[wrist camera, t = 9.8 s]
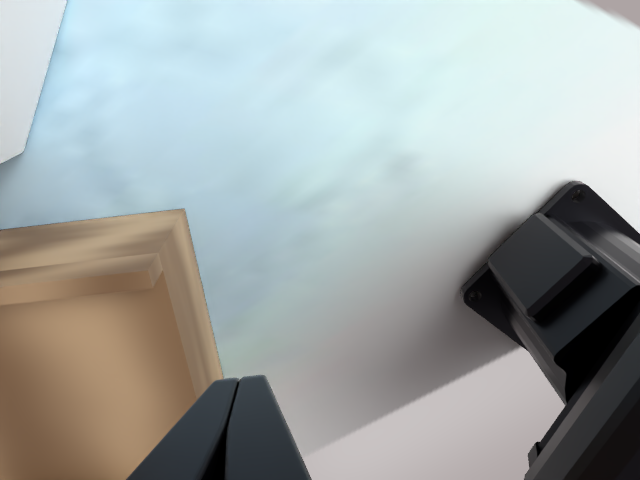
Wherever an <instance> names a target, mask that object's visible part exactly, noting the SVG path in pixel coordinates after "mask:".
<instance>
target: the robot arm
mask: <svg viewBox="0 0 640 480" xmlns="http://www.w3.org/2000/svg"><path fill="white" fill-rule="evenodd" d="M577 190H580V195H579V196H578V197H577V198H576V199H572V195H573V194H574V192H576V191H577ZM473 291H478V293H477V295H476V296H474V297H469V295H470V293H472V292H473ZM460 294H461V297H462V299H463V301H464V302H465V303H466V305H468V306H469V307H470V308H472V309H473V310H474V311H476V312H477V313H478V314H480V315H481V316H482V317H483V318H485V319H486V320H487V321H489V322H490V323H491V324H493V325H494V326H495V327H497V328H498V329H499V330H501V331H502V332H503V333H505V334H506V335H507V336H509V337H510V338H511V339H513V340H514V341H515V342H517V343H518V344H519V345H521V346H522V347H523V348H525V349H526V350H527V351H529V353H530V354H531V356H532V357H533V358H534V360H535V362H536V363H537V364H538V366H539V367H540V369H541V370H542V372H543V373H544V374H545V376H546V378H547V379H548V381H549V382H550V383H551V385H552V387H553V388H554V389H555V391H556V392H557V394H558V395H559V397H560V398H561V400H562V401H563V403H564V404H565V408H564V409H563V410H562V412H561V413H560V415H559V416H558V417H557V419H556V420H555V422H554V423H553V424H552V426H551V428H550V429H549V430H548V432H547V433H546V435H545V436H544V438H543V439H542V440H541V442H536V443H535V444H534V446H533V447H532V449H531V450H530V452H529V453H528V460H529V470H528V472H527V473H526V474H525V478H524V480H640V234H639V233H638V232H637V231H636V230H635V229H634V228H633V227H632V226H631V225H630V224H629V223H627V222H626V221H625V220H624V219H623V218H622V217H621V216H620V215H619V214H618V213H617V212H616V211H615V210H614V209H612V208H611V207H610V206H609V205H608V204H607V203H606V202H605V201H604V200H603V199H602V198H601V197H600V196H599V195H597V194H596V193H595V192H594V191H593V190H592V189H591V188H590V187H589V186H587V185H586V184H584V183H582V182H580V181H572V182H569V183H568V184H567V185H565V186H564V187H563V188H562V189H561V190H560V191H559V192H558V193H557V194H556V195H555V196H554V197H553V198H552V199H551V200H550V201H549V202H548V203H547V204H546V205H545V206H544V207H543V208H542V209H541V210H540V211H539V212H538V213H537V214H533V215H532V216H531V217H530V218H528V219H527V220H526V221H525V222H524V223H523V224H522V225H521V226H520V227H519V228H518V229H517V230H516V231H515V232H514V233H513V234H512V235H511V236H510V237H509V238H508V239H507V240H506V241H505V242H504V243H503V244H502V245H501V246H500V247H499V248H498V249H497V250H496V251H495V252H494V253H493V254H492V255H491V256H490V257H489V259H488V262H487V263H486V264H485V265H484V266H483V267H482V268H481V269H480V270H479V271H478V272H477V273H476V274H475V275H474V276H473V277H472V278H471V279H470V280H469V281H468V282H467V283H466V284H465V285H464V286H463V287H462V288H461V292H460ZM126 480H312V479H311V477H310V475H309V473H308V470H307V468H306V466H305V464H304V461H303V459H302V457H301V455H300V452H299V450H298V448H297V446H296V443H295V441H294V439H293V437H292V434H291V432H290V430H289V428H288V425H287V423H286V421H285V419H284V416H283V414H282V412H281V410H280V407H279V405H278V403H277V401H276V398H275V396H274V394H273V392H272V389H271V387H270V385H269V383H268V380H267V378H266V377H265V376H264V375H256V376H247V377H243V378H241V379H240V380H239V379H238V378H229V379H220V380H216V381H214V382H213V383H212V384H211V385H210V386H209V387H208V388H207V389H206V390H205V391H204V393H203V394H202V395H201V396H200V397H199V398H198V399H197V400H196V401H195V403H194V404H193V405H192V406H191V407H190V408H189V409H188V410H187V412H186V413H185V414H184V415H183V416H182V417H181V418H180V419H179V421H178V422H177V423H176V424H175V425H174V426H173V427H172V428H171V429H170V431H169V432H168V433H167V434H166V435H165V436H164V437H163V438H162V440H161V441H160V442H159V443H158V444H157V445H156V446H155V447H154V448H153V450H152V451H151V452H150V453H149V454H148V455H147V456H146V457H145V459H144V460H143V461H142V462H141V463H140V464H139V465H138V466H137V467H136V469H135V470H134V471H133V472H132V473H131V474H130V475H129V476H128V478H127V479H126Z"/></svg>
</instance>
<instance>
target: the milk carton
mask: <svg viewBox="0 0 640 480" xmlns="http://www.w3.org/2000/svg"><path fill="white" fill-rule="evenodd" d="M66 3H67V0H0V164H1V163H3V162H5V161H7V160H9V159H11V158H13V157H15V156H17V155H19V154H21V153H22V152H23V151H24V149H25V146H26V142H27V139H28V135H29V132H30V128H31V125H32V121H33V118H34V114H35V111H36V108H37V104H38V101H39V97H40V94H41V90H42V87H43V83H44V80H45V76H46V73H47V69H48V66H49V62H50V59H51V55H52V52H53V49H54V45H55V42H56V38H57V35H58V31H59V28H60V24H61V21H62V17H63V14H64V10H65V7H66Z"/></svg>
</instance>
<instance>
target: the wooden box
mask: <svg viewBox="0 0 640 480" xmlns="http://www.w3.org/2000/svg"><path fill="white" fill-rule="evenodd" d="M220 379H224V378H223V374H222V370H221V365H220V361H219V356H218V352H217V348H216V343H215V339H214V335H213V330H212V326H211V322H210V317H209V313H208V309H207V304H206V300H205V296H204V291H203V287H202V282H201V278H200V274H199V269H198V265H197V261H196V256H195V252H194V248H193V243H192V239H191V235H190V230H189V226H188V222H187V217H186V213H185V209H177V210H168V211H160V212H151V213H142V214H134V215H125V216H116V217H108V218H99V219H90V220H81V221H73V222H64V223H55V224H47V225H38V226H29V227H21V228H12V229H3V230H0V480H126V479H127V478H128V476H129V475H130V474H131V473H132V472H133V471H134V470H135V469H136V467H137V466H138V465H139V464H140V463H141V462H142V461H143V460H144V459H145V457H146V456H147V455H148V454H149V453H150V452H151V451H152V450H153V448H154V447H155V446H156V445H157V444H158V443H159V442H160V441H161V440H162V438H163V437H164V436H165V435H166V434H167V433H168V432H169V431H170V429H171V428H172V427H173V426H174V425H175V424H176V423H177V422H178V421H179V419H180V418H181V417H182V416H183V415H184V414H185V413H186V412H187V410H188V409H189V408H190V407H191V406H192V405H193V404H194V403H195V401H196V400H197V399H198V398H199V397H200V396H201V395H202V394H203V393H204V391H205V390H206V389H207V388H208V387H209V386H210V385H211V384H212V383H213V382H214V381H216V380H220Z"/></svg>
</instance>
